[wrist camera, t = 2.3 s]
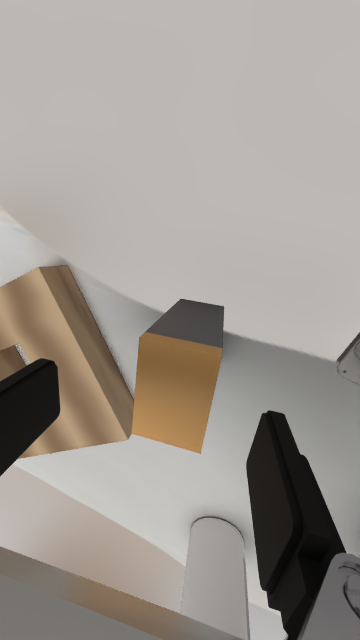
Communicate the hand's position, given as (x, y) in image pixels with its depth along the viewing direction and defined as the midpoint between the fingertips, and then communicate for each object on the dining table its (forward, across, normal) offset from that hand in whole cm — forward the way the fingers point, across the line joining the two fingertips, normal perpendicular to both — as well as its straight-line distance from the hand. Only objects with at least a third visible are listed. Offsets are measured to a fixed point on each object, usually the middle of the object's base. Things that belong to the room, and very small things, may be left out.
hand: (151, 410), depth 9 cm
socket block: (+12, +16, +9) cm, 22 cm away
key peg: (+12, -1, +1) cm, 12 cm away
